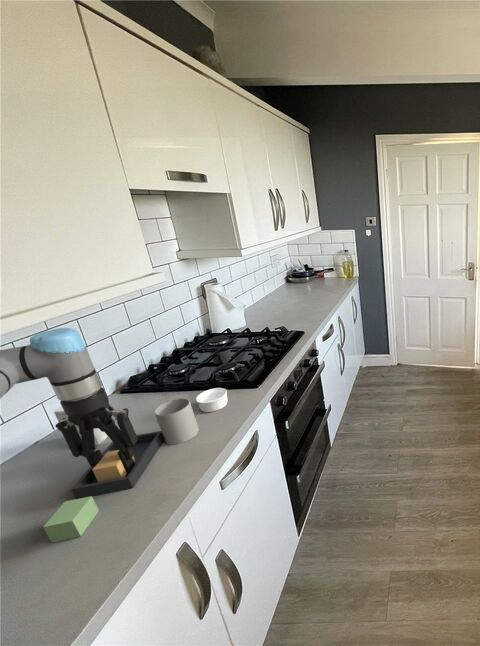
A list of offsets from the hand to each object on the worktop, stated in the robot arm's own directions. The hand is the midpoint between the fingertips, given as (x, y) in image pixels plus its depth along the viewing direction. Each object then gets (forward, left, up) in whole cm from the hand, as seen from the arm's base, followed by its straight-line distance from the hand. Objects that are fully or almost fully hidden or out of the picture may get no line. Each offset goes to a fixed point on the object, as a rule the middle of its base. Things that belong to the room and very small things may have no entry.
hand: (117, 471), depth 89 cm
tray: (0, +3, -1) cm, 3 cm away
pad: (-1, -15, -1) cm, 15 cm away
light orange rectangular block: (0, 0, 0) cm, 0 cm away
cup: (+10, +13, -1) cm, 17 cm away
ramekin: (+15, +27, -1) cm, 31 cm away
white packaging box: (-15, +19, -1) cm, 25 cm away
